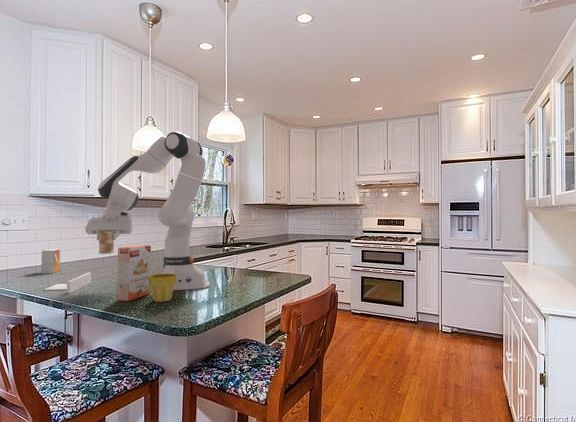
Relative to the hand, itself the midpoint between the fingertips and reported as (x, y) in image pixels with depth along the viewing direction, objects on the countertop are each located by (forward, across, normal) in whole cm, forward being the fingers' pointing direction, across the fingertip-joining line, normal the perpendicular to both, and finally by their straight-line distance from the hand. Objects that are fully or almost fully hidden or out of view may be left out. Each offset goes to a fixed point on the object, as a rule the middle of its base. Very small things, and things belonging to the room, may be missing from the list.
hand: (106, 239), depth 161 cm
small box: (-19, -44, +49) cm, 69 cm away
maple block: (+4, 0, +5) cm, 6 cm away
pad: (+14, -18, +17) cm, 29 cm away
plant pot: (+36, +30, -4) cm, 47 cm away
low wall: (+15, -11, +16) cm, 25 cm away
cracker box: (+32, +18, 0) cm, 36 cm away
